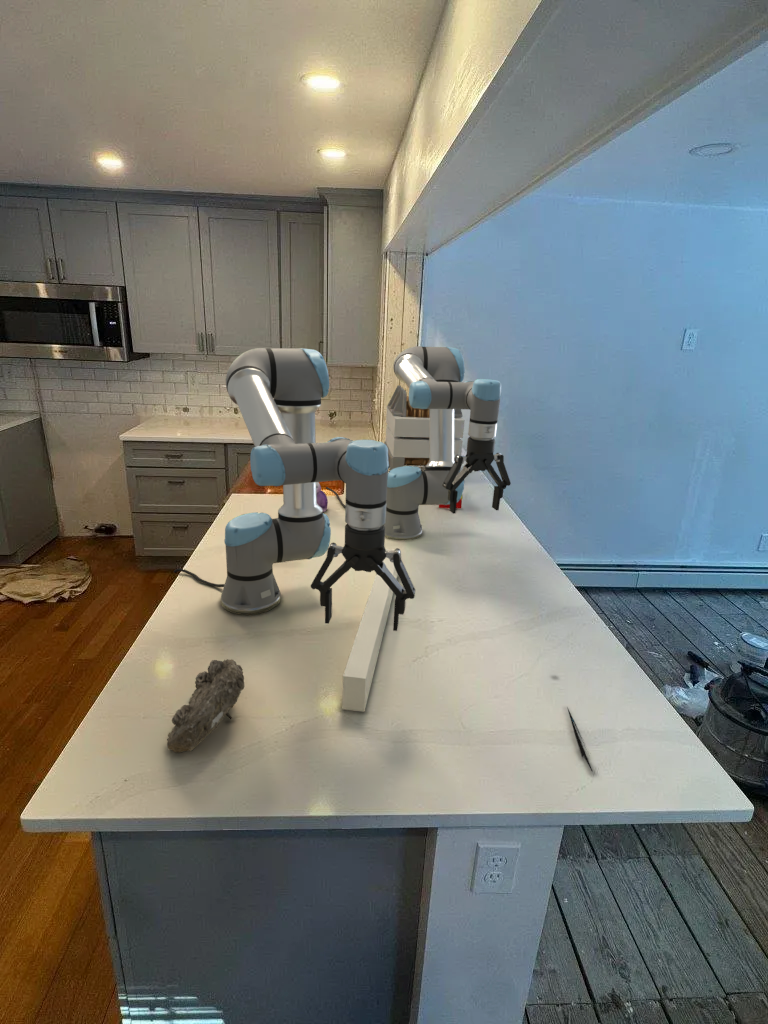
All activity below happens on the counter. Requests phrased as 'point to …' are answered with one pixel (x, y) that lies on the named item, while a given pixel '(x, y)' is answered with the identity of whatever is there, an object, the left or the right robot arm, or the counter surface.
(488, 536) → the counter surface
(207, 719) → the fossil
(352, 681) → the beam
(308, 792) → the counter surface
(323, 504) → the figurine
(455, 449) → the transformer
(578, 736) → the feather
